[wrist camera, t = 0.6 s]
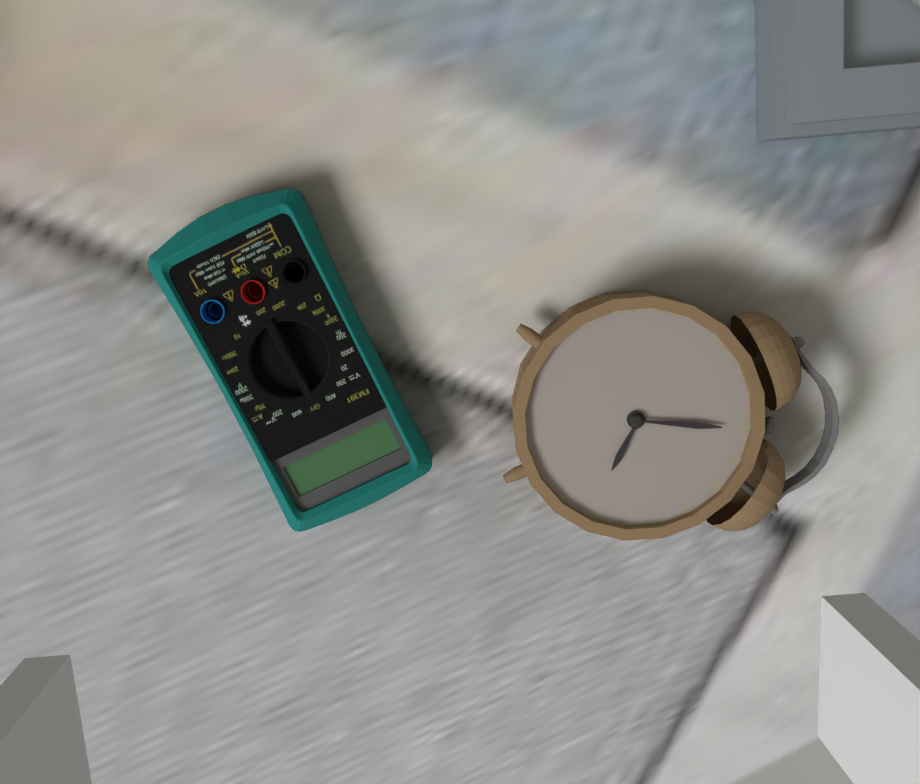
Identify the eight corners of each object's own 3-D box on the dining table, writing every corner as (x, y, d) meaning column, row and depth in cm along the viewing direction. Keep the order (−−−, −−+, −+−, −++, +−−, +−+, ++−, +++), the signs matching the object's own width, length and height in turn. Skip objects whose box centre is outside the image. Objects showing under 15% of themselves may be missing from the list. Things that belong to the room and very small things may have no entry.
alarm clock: (517, 285, 38) (877, 315, 36) (524, 278, 42) (842, 305, 41) (496, 529, 40) (834, 569, 38) (505, 496, 45) (805, 530, 43)
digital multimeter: (295, 175, 39) (285, 173, 36) (436, 458, 42) (437, 476, 39) (152, 245, 40) (131, 248, 37) (302, 521, 43) (294, 543, 40)
